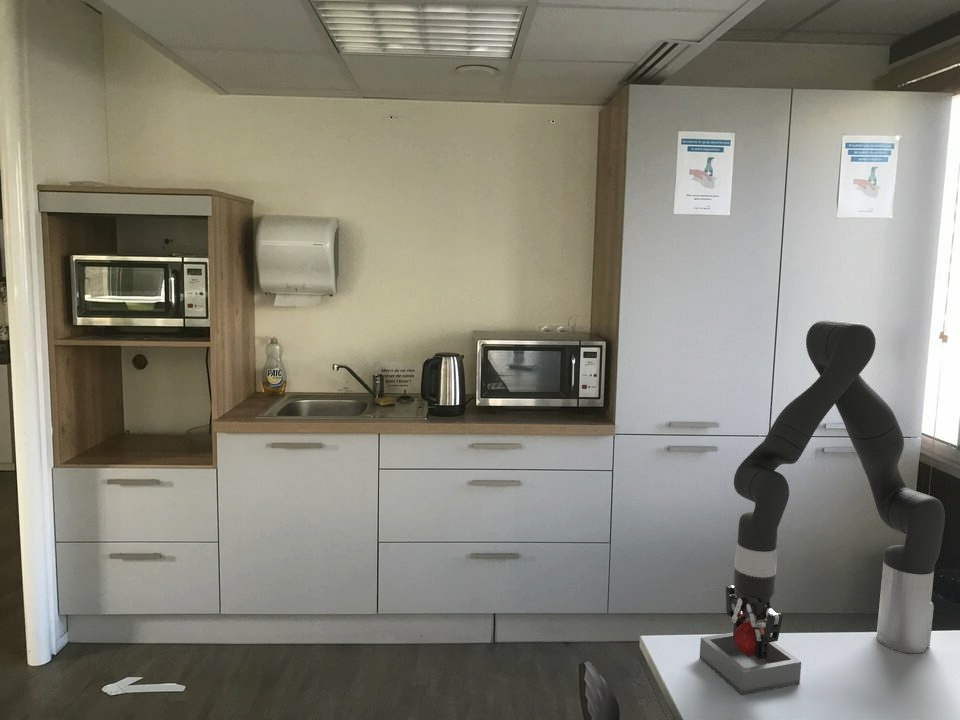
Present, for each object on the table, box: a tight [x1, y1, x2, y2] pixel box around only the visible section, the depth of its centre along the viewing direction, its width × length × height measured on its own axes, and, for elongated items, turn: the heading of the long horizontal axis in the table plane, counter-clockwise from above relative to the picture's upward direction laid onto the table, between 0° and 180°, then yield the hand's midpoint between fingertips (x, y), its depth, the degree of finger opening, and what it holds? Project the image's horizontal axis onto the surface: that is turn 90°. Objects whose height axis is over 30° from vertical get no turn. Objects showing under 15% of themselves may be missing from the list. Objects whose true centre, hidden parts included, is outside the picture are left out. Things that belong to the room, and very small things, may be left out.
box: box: [699, 631, 802, 696], centre depth 141 cm, size 13×13×4 cm
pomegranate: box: [734, 618, 764, 657], centre depth 140 cm, size 6×6×8 cm
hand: (749, 649), depth 141 cm, fingers closed on pomegranate, 6 cm apart
